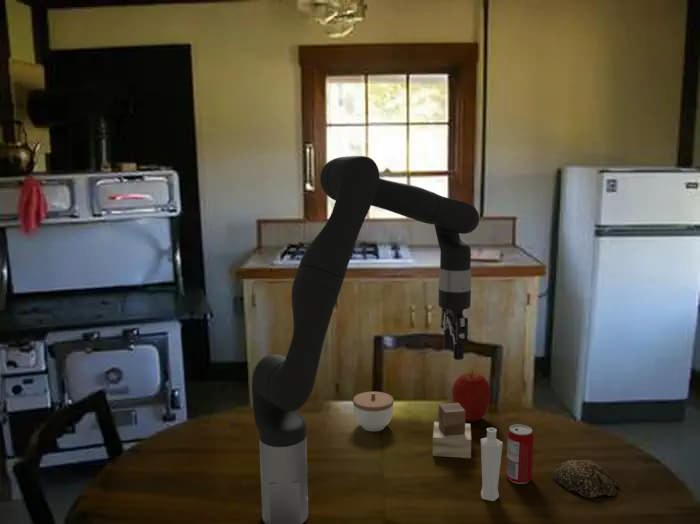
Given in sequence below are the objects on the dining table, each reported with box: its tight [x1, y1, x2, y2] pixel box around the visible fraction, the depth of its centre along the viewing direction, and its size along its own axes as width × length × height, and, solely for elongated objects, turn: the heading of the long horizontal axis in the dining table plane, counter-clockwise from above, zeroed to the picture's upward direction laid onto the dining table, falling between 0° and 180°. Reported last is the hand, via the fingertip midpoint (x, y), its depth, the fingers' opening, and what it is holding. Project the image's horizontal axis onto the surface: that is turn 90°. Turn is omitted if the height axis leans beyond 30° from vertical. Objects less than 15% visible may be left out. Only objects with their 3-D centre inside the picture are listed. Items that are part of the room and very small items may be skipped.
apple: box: [451, 370, 492, 423], centre depth 171 cm, size 10×10×14 cm
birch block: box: [432, 421, 472, 459], centre depth 155 cm, size 9×9×5 cm
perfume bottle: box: [480, 427, 504, 502], centre depth 133 cm, size 5×4×15 cm
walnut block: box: [438, 402, 466, 436], centre depth 154 cm, size 5×5×6 cm
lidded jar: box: [352, 391, 395, 432], centre depth 168 cm, size 11×11×9 cm
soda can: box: [505, 423, 534, 485], centre depth 140 cm, size 6×6×12 cm
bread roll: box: [552, 459, 618, 499], centre depth 139 cm, size 13×12×5 cm
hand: (453, 353), depth 151 cm, fingers open, 8 cm apart
